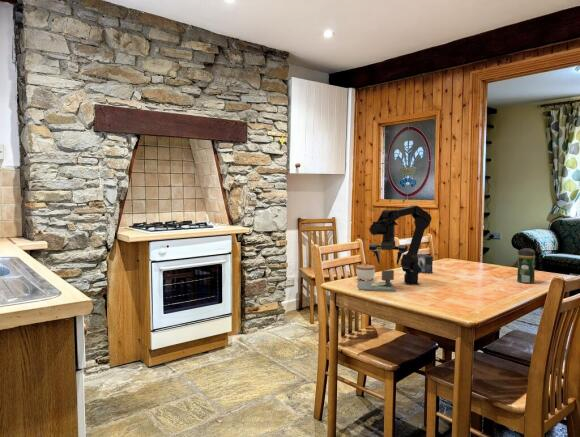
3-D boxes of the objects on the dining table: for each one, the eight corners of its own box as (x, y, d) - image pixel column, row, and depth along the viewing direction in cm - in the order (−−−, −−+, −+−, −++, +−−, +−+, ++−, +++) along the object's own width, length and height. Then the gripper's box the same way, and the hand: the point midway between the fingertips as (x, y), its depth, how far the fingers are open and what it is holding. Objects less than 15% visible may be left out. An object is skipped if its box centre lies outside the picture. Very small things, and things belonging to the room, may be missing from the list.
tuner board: (391, 283, 223) (391, 281, 223) (396, 291, 205) (396, 289, 205) (357, 282, 225) (357, 280, 225) (359, 290, 207) (359, 288, 207)
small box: (412, 271, 260) (412, 254, 260) (420, 270, 263) (421, 253, 262) (424, 273, 251) (425, 256, 250) (432, 273, 254) (433, 256, 253)
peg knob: (390, 283, 217) (390, 269, 217) (394, 285, 213) (395, 270, 213) (368, 285, 212) (369, 271, 211) (373, 287, 208) (373, 272, 208)
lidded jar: (353, 280, 231) (353, 263, 230) (359, 277, 240) (359, 261, 240) (371, 282, 226) (372, 265, 225) (377, 279, 235) (377, 262, 235)
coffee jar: (519, 279, 234) (520, 246, 233) (535, 281, 229) (536, 248, 228) (515, 282, 227) (516, 248, 226) (531, 284, 222) (532, 249, 220)
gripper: (367, 234, 210) (366, 265, 211) (405, 236, 202) (404, 268, 203) (371, 233, 220) (371, 262, 221) (408, 234, 213) (407, 264, 214)
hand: (388, 264), depth 214 cm, fingers open, 9 cm apart
